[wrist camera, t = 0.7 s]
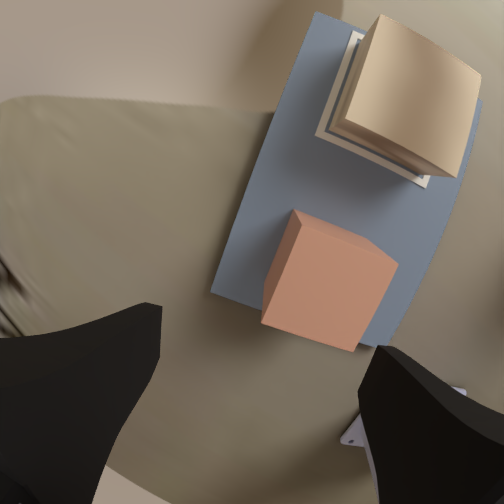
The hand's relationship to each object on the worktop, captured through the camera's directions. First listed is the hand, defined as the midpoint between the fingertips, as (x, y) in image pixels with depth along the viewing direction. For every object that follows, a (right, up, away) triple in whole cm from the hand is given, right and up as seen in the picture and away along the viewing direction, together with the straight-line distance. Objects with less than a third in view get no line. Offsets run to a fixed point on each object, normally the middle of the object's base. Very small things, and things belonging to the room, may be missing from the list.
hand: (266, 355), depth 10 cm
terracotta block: (+3, +3, +8) cm, 9 cm away
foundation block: (+7, +11, +5) cm, 15 cm away
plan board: (+6, +7, +7) cm, 12 cm away
